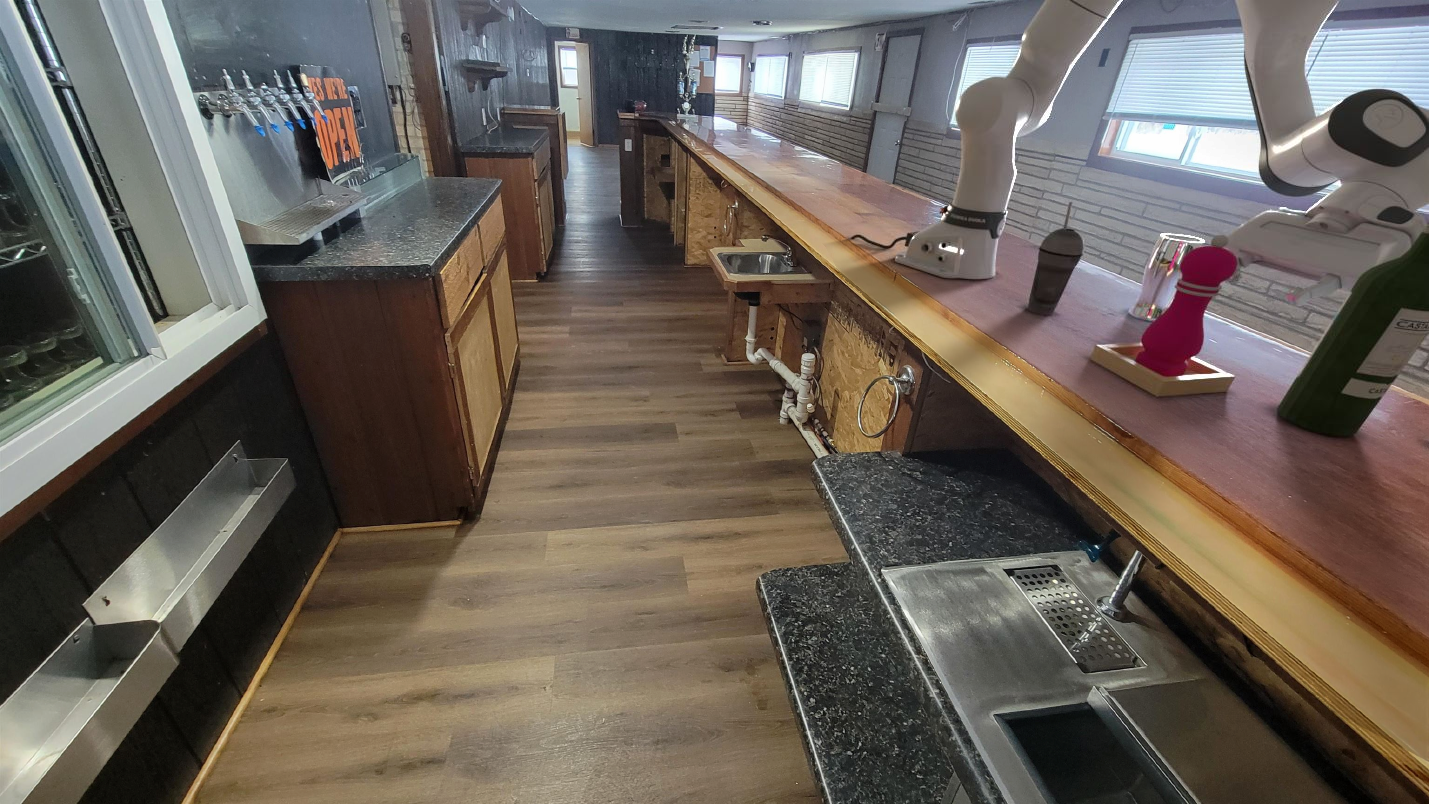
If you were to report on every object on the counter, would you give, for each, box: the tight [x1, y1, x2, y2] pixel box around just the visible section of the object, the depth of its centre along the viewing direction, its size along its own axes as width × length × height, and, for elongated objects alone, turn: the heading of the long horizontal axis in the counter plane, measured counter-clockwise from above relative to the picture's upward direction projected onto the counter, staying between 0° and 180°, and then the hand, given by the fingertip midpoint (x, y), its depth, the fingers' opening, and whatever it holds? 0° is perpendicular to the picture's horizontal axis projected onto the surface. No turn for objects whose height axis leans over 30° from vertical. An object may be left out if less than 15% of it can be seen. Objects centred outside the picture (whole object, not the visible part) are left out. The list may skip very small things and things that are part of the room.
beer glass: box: [1128, 233, 1205, 322], centre depth 105 cm, size 7×7×15 cm
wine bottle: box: [1276, 222, 1429, 438], centre depth 67 cm, size 8×8×30 cm
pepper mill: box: [1135, 234, 1237, 377], centre depth 80 cm, size 7×7×20 cm
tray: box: [1089, 342, 1236, 398], centre depth 85 cm, size 12×12×2 cm
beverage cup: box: [1027, 201, 1085, 316], centre depth 104 cm, size 7×7×20 cm
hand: (1257, 290), depth 81 cm, fingers open, 8 cm apart
